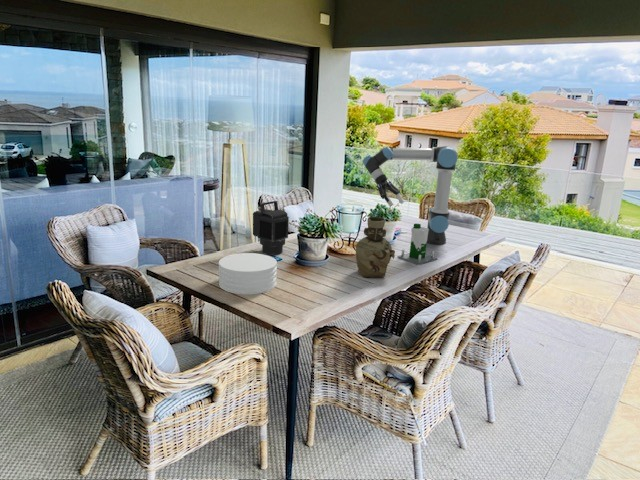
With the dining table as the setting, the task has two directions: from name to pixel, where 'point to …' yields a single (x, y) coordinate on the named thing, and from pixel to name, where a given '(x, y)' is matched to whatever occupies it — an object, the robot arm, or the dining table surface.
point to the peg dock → (419, 260)
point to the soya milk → (418, 241)
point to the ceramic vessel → (374, 250)
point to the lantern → (271, 228)
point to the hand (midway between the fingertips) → (397, 204)
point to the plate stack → (247, 273)
